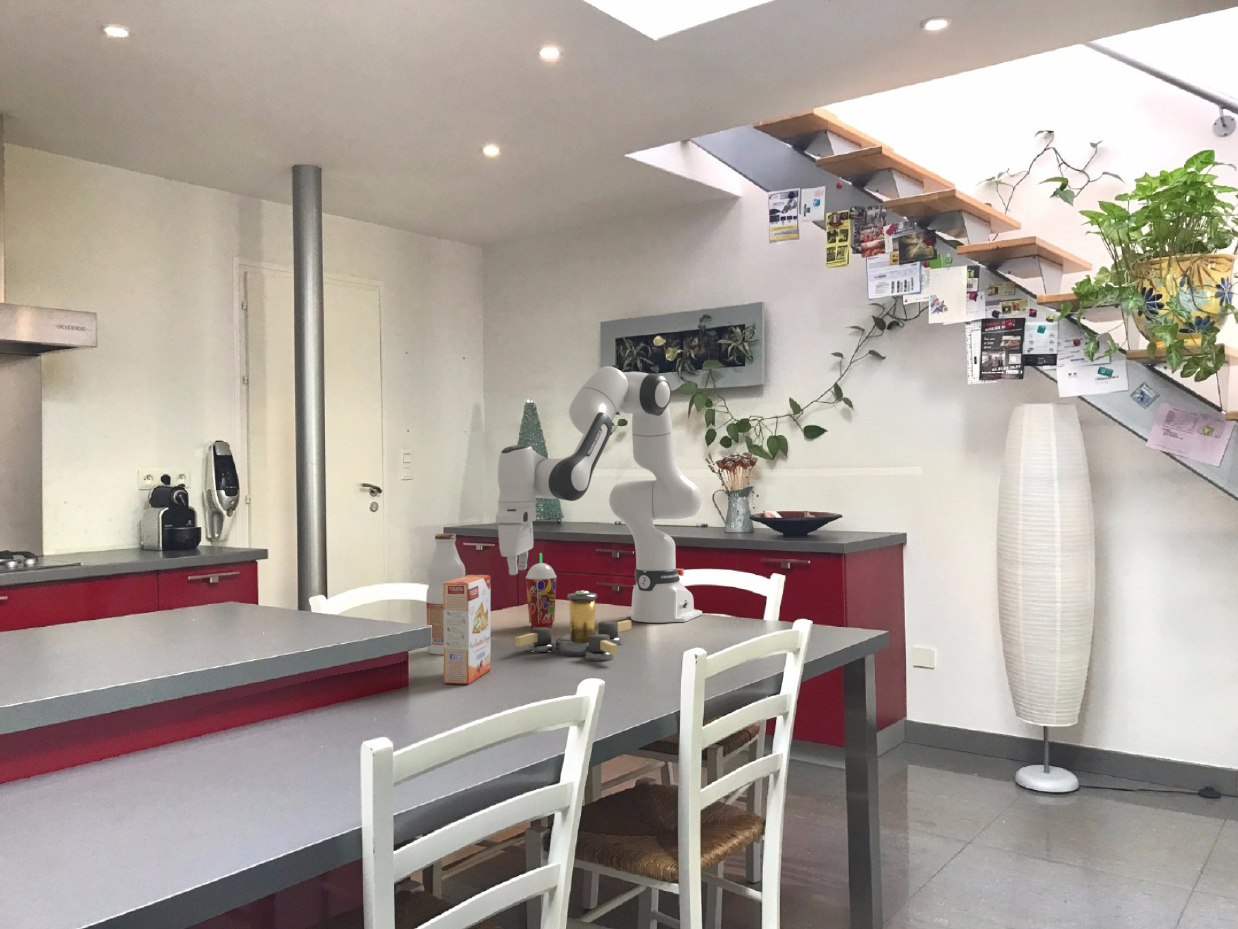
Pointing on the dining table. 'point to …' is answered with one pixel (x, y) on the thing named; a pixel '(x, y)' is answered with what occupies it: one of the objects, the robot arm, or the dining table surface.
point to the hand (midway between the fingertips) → (518, 572)
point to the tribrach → (578, 630)
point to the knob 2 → (602, 644)
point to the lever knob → (613, 627)
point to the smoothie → (541, 594)
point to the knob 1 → (535, 637)
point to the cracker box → (466, 628)
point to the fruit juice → (441, 585)
